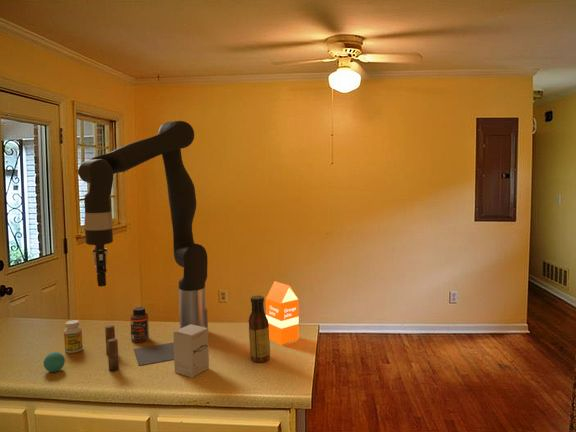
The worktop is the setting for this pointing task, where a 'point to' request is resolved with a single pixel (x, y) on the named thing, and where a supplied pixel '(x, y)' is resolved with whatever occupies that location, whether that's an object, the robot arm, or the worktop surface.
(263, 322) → the sauce bottle
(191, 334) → the supplement box
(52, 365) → the ball
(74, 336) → the supplement bottle
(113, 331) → the post far
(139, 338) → the supplement bottle
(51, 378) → the worktop surface
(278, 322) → the orange juice
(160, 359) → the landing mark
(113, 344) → the post near
